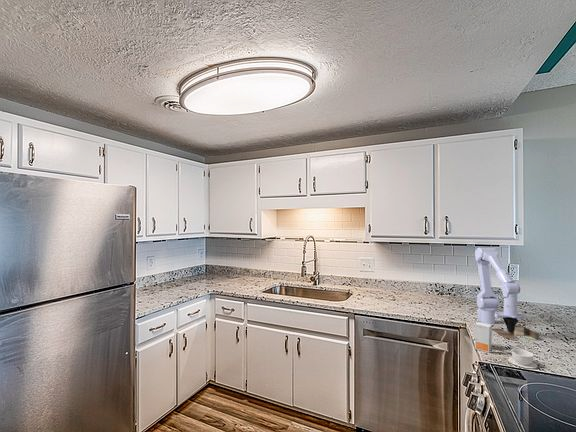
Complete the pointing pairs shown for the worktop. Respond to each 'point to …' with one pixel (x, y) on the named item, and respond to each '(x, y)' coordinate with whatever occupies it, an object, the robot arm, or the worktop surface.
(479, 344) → the skincare box
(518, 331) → the birch block
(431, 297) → the worktop surface
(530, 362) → the teacup
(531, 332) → the box
